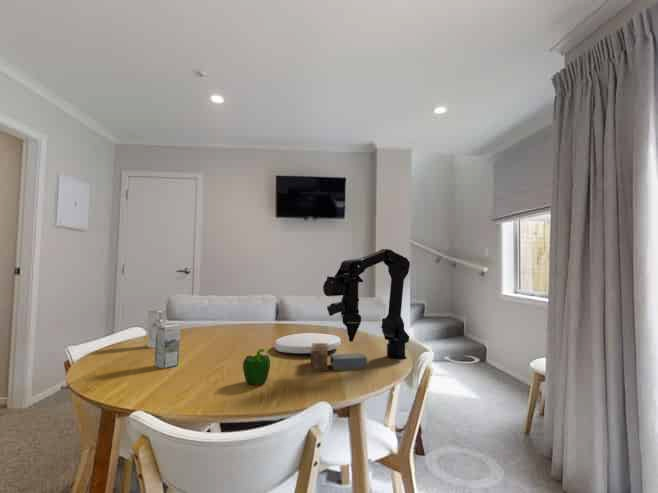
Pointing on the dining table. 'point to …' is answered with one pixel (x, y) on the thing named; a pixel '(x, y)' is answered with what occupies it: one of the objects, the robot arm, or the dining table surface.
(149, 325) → the beer glass
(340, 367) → the slate slab
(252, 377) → the bell pepper
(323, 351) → the walnut shelf
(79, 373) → the dining table surface
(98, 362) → the dining table surface
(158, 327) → the syrup box
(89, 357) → the dining table surface
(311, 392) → the dining table surface
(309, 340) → the plate
